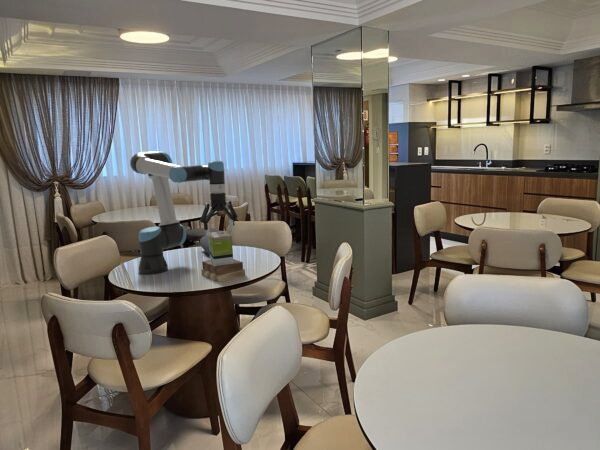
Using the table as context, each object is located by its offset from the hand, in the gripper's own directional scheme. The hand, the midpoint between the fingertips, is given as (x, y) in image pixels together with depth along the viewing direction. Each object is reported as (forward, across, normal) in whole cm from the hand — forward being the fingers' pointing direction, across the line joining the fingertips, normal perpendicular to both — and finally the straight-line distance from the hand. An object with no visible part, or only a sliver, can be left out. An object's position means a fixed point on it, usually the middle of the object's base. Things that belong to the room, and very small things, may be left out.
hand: (220, 234), depth 219 cm
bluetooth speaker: (+22, +20, +48) cm, 57 cm away
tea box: (+14, 0, -1) cm, 15 cm away
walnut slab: (+18, 0, -1) cm, 18 cm away
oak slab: (+22, 0, -1) cm, 22 cm away
